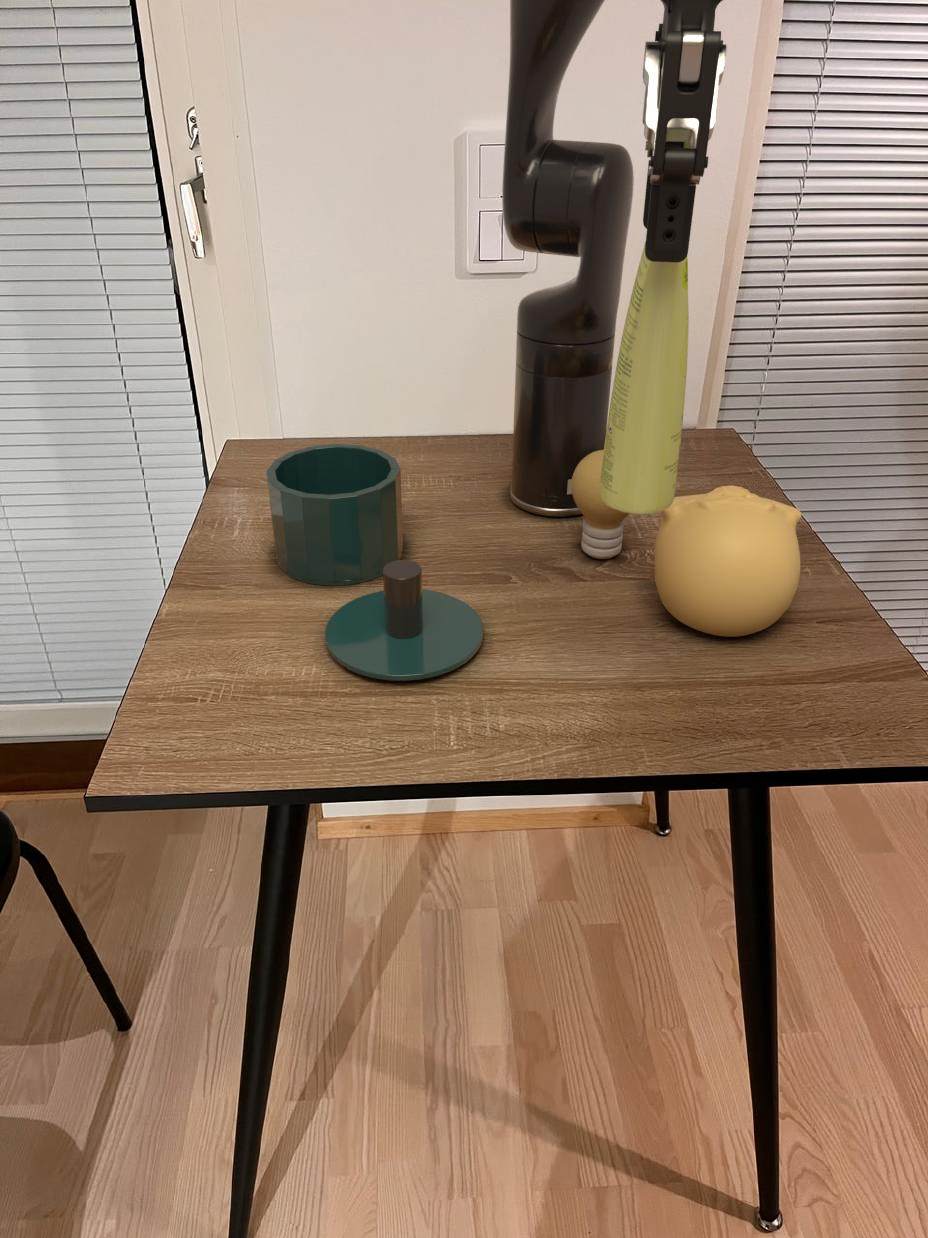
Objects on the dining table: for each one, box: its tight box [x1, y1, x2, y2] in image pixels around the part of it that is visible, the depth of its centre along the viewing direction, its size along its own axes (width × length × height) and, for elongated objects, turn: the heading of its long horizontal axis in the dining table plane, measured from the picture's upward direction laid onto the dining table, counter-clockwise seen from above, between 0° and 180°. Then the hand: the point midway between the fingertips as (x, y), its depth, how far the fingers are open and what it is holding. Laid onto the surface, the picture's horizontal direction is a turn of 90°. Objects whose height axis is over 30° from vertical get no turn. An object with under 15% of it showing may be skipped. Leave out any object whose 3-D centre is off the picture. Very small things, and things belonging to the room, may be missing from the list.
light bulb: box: [571, 450, 630, 560], centre depth 87 cm, size 6×6×10 cm
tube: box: [599, 240, 690, 515], centre depth 57 cm, size 6×5×20 cm
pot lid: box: [324, 559, 484, 682], centre depth 75 cm, size 13×13×7 cm
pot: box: [265, 443, 404, 587], centre depth 87 cm, size 12×12×8 cm
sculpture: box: [653, 485, 802, 638], centre depth 78 cm, size 12×12×11 cm
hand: (662, 243), depth 54 cm, fingers closed on tube, 7 cm apart
